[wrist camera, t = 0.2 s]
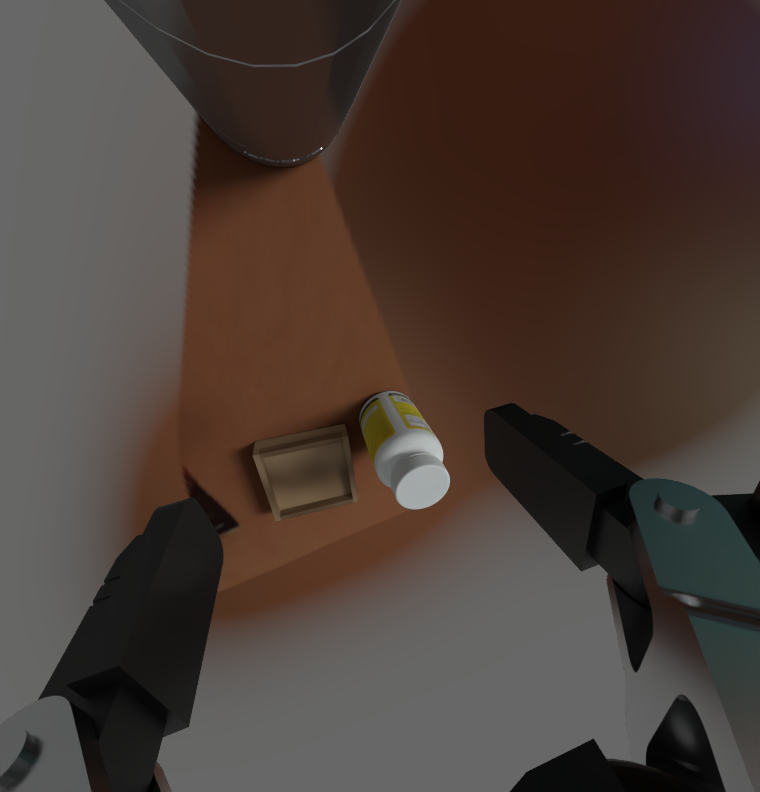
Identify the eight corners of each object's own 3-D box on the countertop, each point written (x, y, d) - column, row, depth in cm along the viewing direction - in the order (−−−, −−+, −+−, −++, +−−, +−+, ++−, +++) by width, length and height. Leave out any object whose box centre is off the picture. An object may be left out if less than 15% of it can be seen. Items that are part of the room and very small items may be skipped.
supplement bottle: (364, 445, 31) (390, 526, 23) (352, 398, 28) (377, 470, 20) (416, 430, 32) (461, 503, 23) (410, 382, 29) (458, 446, 20)
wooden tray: (255, 441, 28) (252, 455, 26) (344, 423, 29) (348, 435, 28) (276, 505, 32) (275, 521, 30) (355, 487, 33) (358, 501, 31)
